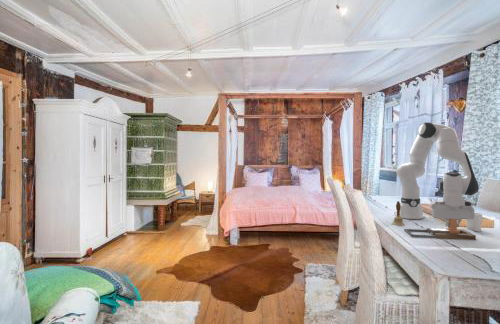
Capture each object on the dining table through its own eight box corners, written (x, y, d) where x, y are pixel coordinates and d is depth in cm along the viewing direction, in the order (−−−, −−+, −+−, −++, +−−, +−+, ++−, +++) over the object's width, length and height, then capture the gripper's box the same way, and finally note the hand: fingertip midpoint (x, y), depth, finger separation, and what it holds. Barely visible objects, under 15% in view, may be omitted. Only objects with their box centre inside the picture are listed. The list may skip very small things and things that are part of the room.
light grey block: (437, 233, 161) (437, 228, 161) (445, 234, 160) (445, 228, 160) (441, 235, 157) (441, 230, 157) (449, 236, 156) (449, 230, 156)
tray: (404, 232, 168) (404, 228, 168) (426, 233, 166) (426, 229, 166) (411, 239, 156) (411, 234, 156) (436, 240, 154) (436, 235, 154)
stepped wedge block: (445, 233, 161) (445, 215, 160) (455, 233, 160) (455, 216, 159) (449, 236, 156) (449, 218, 156) (459, 236, 155) (459, 218, 155)
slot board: (425, 233, 167) (425, 227, 167) (462, 234, 163) (462, 228, 163) (436, 240, 153) (436, 234, 153) (476, 242, 150) (476, 236, 149)
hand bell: (406, 228, 178) (406, 202, 178) (392, 227, 181) (392, 202, 180) (404, 224, 186) (404, 200, 185) (390, 223, 189) (390, 200, 188)
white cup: (480, 232, 166) (480, 215, 166) (463, 229, 172) (464, 213, 172) (483, 230, 171) (483, 213, 171) (467, 227, 177) (467, 211, 177)
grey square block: (429, 233, 162) (429, 228, 162) (437, 233, 161) (437, 228, 161) (432, 235, 158) (433, 230, 158) (440, 235, 157) (441, 230, 157)
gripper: (434, 202, 156) (434, 227, 157) (476, 203, 152) (476, 228, 153) (429, 200, 162) (429, 224, 163) (469, 201, 159) (469, 225, 159)
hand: (452, 226), depth 158 cm, fingers closed on stepped wedge block, 3 cm apart
